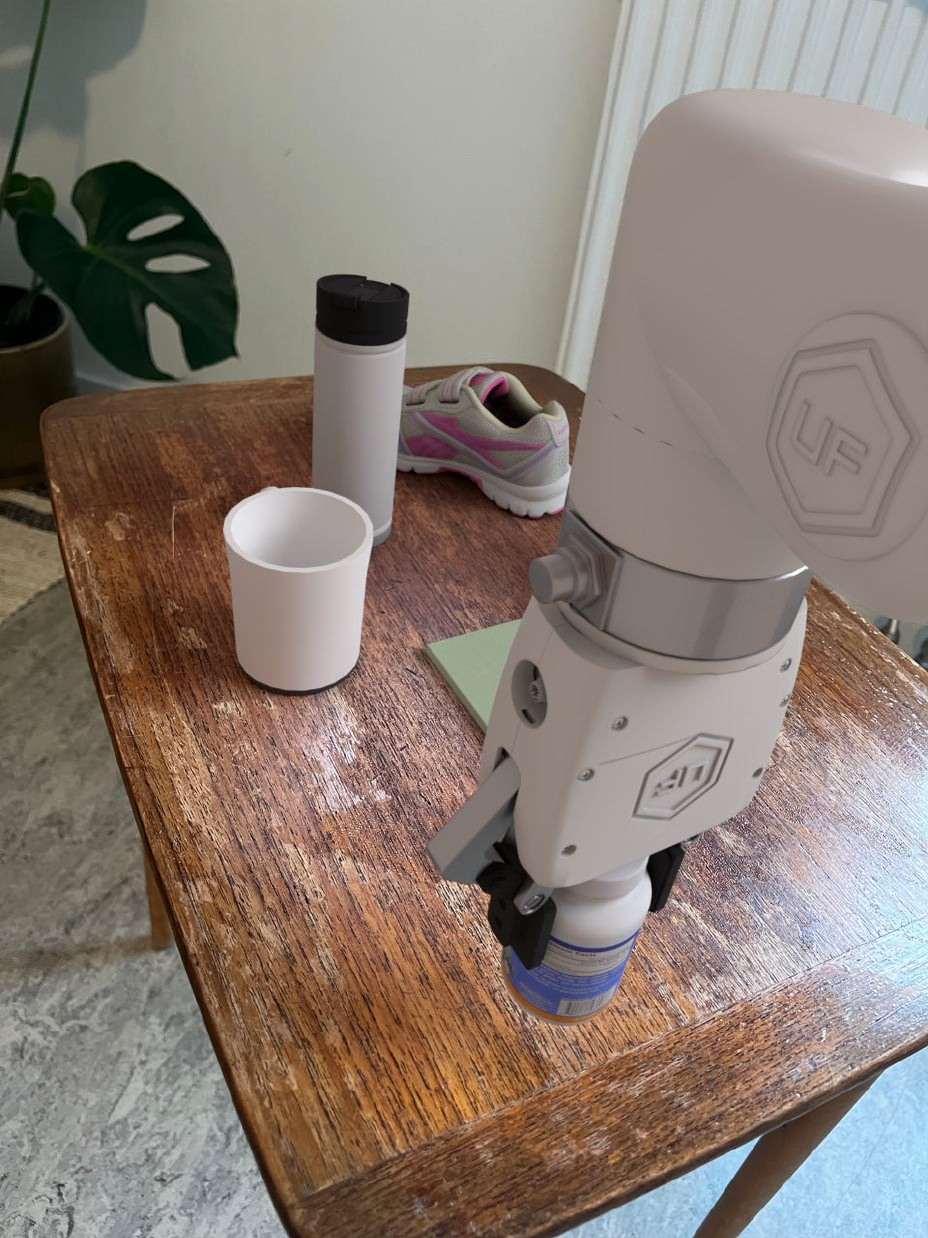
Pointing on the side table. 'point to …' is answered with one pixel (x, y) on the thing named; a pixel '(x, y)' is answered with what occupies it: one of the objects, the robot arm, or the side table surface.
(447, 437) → the running shoe
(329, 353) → the travel mug
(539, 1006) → the pill bottle
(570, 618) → the robot arm
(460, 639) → the mat
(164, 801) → the side table surface
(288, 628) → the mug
